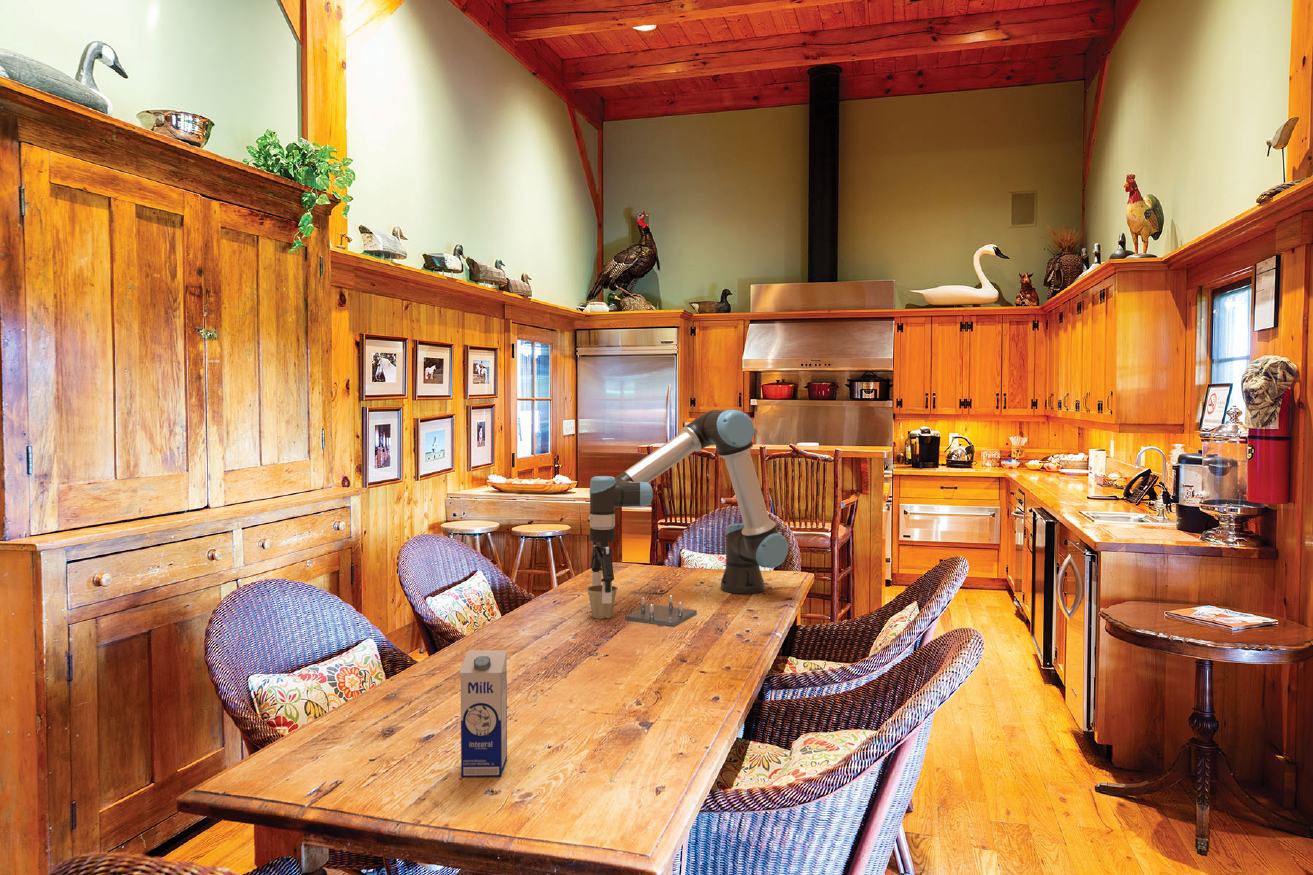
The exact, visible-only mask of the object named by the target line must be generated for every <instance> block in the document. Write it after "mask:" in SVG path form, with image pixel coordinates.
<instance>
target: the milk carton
mask: <svg viewBox="0 0 1313 875" xmlns="http://www.w3.org/2000/svg"><path fill="white" fill-rule="evenodd" d="M507 660H508V650H507V649H503V650H502V649H495V650H494V649H493V650H492V649H491V650H490V649H489V650H488V649H487V650H486V649H485V650H483V649H482V650H473V649H472V650H467V651H466V654H465V656H464V659H463V662H462V665H461V668H460V670H459V674H460V752H461V753H460V758H461V759H460V765H461V766H460V767H461V768H460V769H461V770H460V772H461V773H460V777H461V778H501V777H502V775H503V771H504V770H505V766H506V764H507V761H508V695H507V693H508V692H507V690H508V689H507V688H508V686H507V685H508V684H507V683H508V682H507V681H508V680H507V677H508V676H507V674H508V673H507V671H508V670H507V669H508V668H507V663H508V662H507Z"/></svg>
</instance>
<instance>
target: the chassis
mask: <svg viewBox="0 0 1313 875" xmlns="http://www.w3.org/2000/svg"><path fill="white" fill-rule="evenodd" d="M640 598H641V600H640V601H641V602H640V604H641V605H640V609H637V610H636V611H633V612H631V613H628V614H626V615H625V617H624V618H625V621H631V622H637V623H645V624H650V625H651V624H652V625H658V626H665V627H671V628H672V627H673V628H674V627H676V626H677V625H679V624H681V623H683V622H685V621H686V620H689V619H690V618H692V617H695V616H696V615H697V614H698V610H697V609H692V608H691V609H690V608H684V607H683V601H678V602H677V603H678V604H677V607H676V606H674V595H672V594H670V595H668V606H667V605H659V604H654V603H649V604H648V605H646V596H642V597H641V596H640Z"/></svg>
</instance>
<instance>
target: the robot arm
mask: <svg viewBox="0 0 1313 875" xmlns="http://www.w3.org/2000/svg"><path fill="white" fill-rule="evenodd" d="M754 435H755V425H754V421H753V420H752V418H751V417H750V416H749V415H748V414H747V413H745V412H744V411H741V410H737V409H713V410H709V411H706V412H704V413H703V414H701V415H699V416H698V417H696V418H695V419H694V420H692V421H690V422H689V423H688V424H686V425H685V426H683V427H682V430H681V432H679V434H677V435H675V436H674V437H672V438H671V439H669V441H667V442H665V443H664V444H662V445H661V446H660V447H658V448H656V449H655V450H654V451H652V452H651V453H650V454H648V455H646V456H645V457H644V458H642V459H640V460H639V461H638V462H637V463H635V464H634V465H633V464H632V466H631V467H629V468H628V469H626V470H625V471H623V472H622V473H620V474H619V475H617V476H616V477H614V476H610V475H609V476H608V475H599V476H598V475H597V476H593V477H591V478H590V483H589V517H588V518H587V520H588V521H589V526H590V528H589V541H591V542H592V551H591V557H590V559H591V560H590V566H589V567H590V569H591V586H595V585H602V603H603V604H604V603H612V586H613V581H614V580H615V576H614V567H613V565H614V564H613V558H612V557H613V554H612V546H609V543H610V542H614V541H615V529H614V528H615V527H616V511H615V510H616V508H636V507H639V508H641V507H647V506H650V505H651V503H652V501H653V499H654V498H653V497H654V491H653V487H652V485H651V482H652V481H653V480H655V479H656V478H657V477H659V476H661V475H662V474H664V473H665V472H666V471H668V470H669V469H670V468H672V467H673V466H675V465H676V464H678V463H679V462H681V461H682V460H683V459H685V458H686V457H688V456H689V455H691V454H693V453H694V452H701V451H702V450H703V449H705V448H707V447H710V446H715V448H716V451H717V454H718V456H719V457H720V458H721V459H724V462H725V466H726V469H727V471H728V476H729V478H730V482H731V486H732V488H733V492H734V495H735V498H736V502H737V506H738V509H739V512H740V516H741V519H742V523H730V524H728V525H726V528H725V569H724V571H723V575H722V578H721V580H720V589H721V591H723V592H726V593H731V594H732V593H733V594H740V595H741V594H743V595H748V594H757V593H762V592H764V591H765V581H764V578H763V574H762V570H761V568H767V569H774V568H777V567H779V566H780V565H782V564H783V562H784V561H785V560H786V557H787V556H788V553H789V543H788V540H787V539H786V537H785V536H784V535H783V534H781V533H779V530H778V527H777V523H776V521H774V520H772V519H771V518H770V516H769V513H768V509H767V507H766V506H767V505H766V503H765V498H764V495H763V492H762V489H761V486H760V482H759V479H758V475H757V472H756V468H755V464H754V462H753V459H752V455H751V450H752V448H753V447H754V445H753V442H752V441H753V438H754ZM760 567H761V568H760Z"/></svg>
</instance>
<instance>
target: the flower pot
mask: <svg viewBox="0 0 1313 875" xmlns="http://www.w3.org/2000/svg"><path fill="white" fill-rule="evenodd" d="M618 590H619V588H618V586H615V585H612V603H604V604H603V603H602V584H601V585H595V586H592V585H590V586H588V587H587V588H586V591H587V594H588V596H589V597H588V598H589V604H590V610H591V611H590V612H591V617H592V618H594V619H598V620H603V619H610V618H612V617H613V614H614V606H615V600H616V595H617V591H618Z"/></svg>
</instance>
